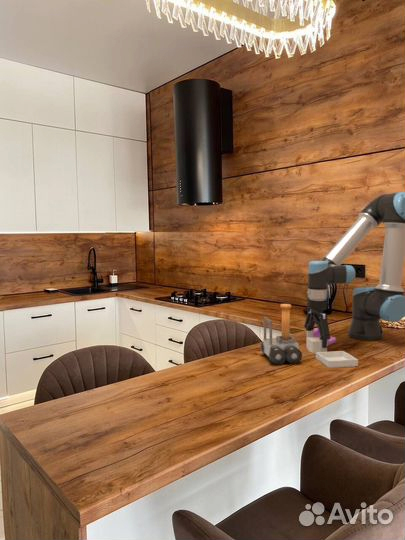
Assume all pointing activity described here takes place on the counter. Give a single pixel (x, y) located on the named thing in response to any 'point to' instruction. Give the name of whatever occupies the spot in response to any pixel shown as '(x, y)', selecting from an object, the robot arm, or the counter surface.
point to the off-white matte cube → (313, 344)
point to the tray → (336, 359)
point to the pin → (285, 321)
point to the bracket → (317, 334)
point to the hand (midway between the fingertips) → (316, 350)
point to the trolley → (280, 348)
